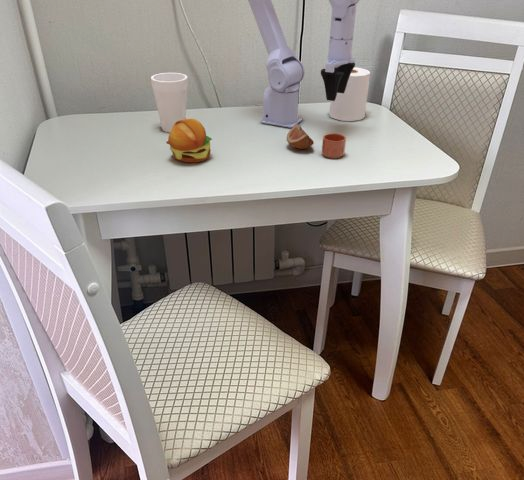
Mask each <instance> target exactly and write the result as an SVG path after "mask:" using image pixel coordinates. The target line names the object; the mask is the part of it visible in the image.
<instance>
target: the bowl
mask: <svg viewBox="0 0 524 480" xmlns="http://www.w3.org/2000/svg"><path fill="white" fill-rule="evenodd" d="M346 142H347V136H345V135H343V134H340V133H326V134H324V135H323V136H322V144H321V154H322V155H323V156H324V157H325V158H328V159H332V160H333V159H341V158H342V157H343V156H345V152H346V145H347V144H346Z"/></svg>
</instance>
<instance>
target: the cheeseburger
mask: <svg viewBox="0 0 524 480" xmlns="http://www.w3.org/2000/svg"><path fill="white" fill-rule="evenodd" d="M206 131H207V130H206V127H204V125H203V124H202V123H201V121H199V120H197V119H196V118H186V119H184V120H180V121H177V122H176V123H175V124H174V126H173V128H172V130H171V132H169V134H168V137H167V139H168V140H167V141H165V142H166V144H167V145H169V150H170V152H171V153H172V155H173V158H174V159H176V160H177V161H180V162H184V163H200V162H203V161H206V160H207V159H209V158H210V155H211V141H212V140H213V138H211V137H210V136H208V135H207V132H206Z"/></svg>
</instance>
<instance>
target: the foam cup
mask: <svg viewBox="0 0 524 480" xmlns="http://www.w3.org/2000/svg"><path fill="white" fill-rule="evenodd" d="M150 83H151V89H152V91H153V95H154V99H155V104H156V108H157V113H158V117H159V121H160V126H161V130H162V131H163V132H166V133H170V132H171V130H172V128H173V126H174V124H175V123H176V122H177V121H180V120H184V119H187V102H188V99H187V97H188V88H189V80H188V75H186V74H184V73H179V72H161V73H156V74H153V75H151V77H150Z"/></svg>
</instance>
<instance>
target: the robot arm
mask: <svg viewBox="0 0 524 480" xmlns="http://www.w3.org/2000/svg"><path fill="white" fill-rule="evenodd" d="M247 1H248V4H249V6H250V10H251V12H252V15H253V17H254V20H255V22H256V25H257V28H258V30H259V33H260V36H261V38H262V41H263V43H264V47H265V49H266V52H267V55H268V57H267V61H266V63H265V67H266V69H267V79H268V83H269V85H270V86H266V88H265V90H264V92H263V97H262V121H261V124H266V125H272V126H277V127H283V128H289V129H292V128H293V127H294V126H295V125H296V124H298V125H299V123H301V122H302V121H303V118H302V117H298V115H299V98H300V97H299V95H300V85H301V84H300V83H301V82H302V81H303V80H304V77H305V66H304V64H303V63H302V62H301V60H300V59H299V58H298V56H297V54H296V51H294V50H293V49H292V48H291V47H290V46H288V43H287V40H286V37H285V35H284V32H283V29H282V26H281V23H280V21H279V18H278V15H277V13H276V10H275V6H274V4H273V1H272V0H247ZM328 1H329V4H330V6H331V18H330V29H329V30H330V31H329V40H328V53H327V57H326V63H325V68H322V69H321V70H320V76H321V78H322V81H323V84H324V85H323V86H324V90H325V98H326V101H335V99H336V96H337V93H344V92H345V89H346V86H347V83H348V79H349V77H350V74H351V72H352V70H353V68H354V67H356V63H355V62H356V58H354V57H352V55H353V43H354V42H353V41H354V32H355V22H356V13H357V4H358V3H359V2H360V0H328Z"/></svg>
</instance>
